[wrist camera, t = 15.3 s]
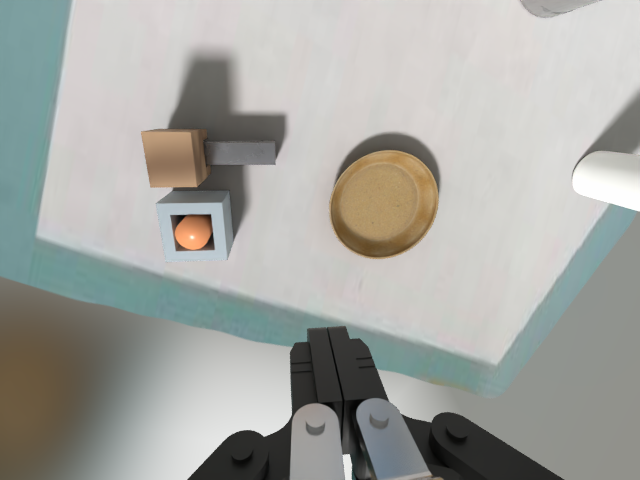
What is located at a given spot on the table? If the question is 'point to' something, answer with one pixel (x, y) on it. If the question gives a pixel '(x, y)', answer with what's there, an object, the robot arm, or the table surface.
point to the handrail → (240, 153)
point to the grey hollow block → (196, 203)
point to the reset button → (194, 231)
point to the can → (609, 178)
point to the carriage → (175, 157)
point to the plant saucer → (383, 204)
